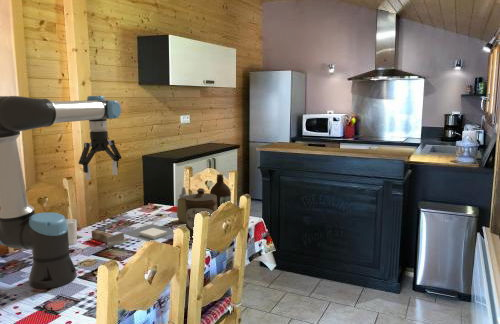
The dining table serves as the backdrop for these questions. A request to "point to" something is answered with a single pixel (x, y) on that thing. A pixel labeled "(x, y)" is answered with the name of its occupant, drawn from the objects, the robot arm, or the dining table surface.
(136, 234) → the slate mat
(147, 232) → the tile
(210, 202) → the wooden container
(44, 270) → the robot arm
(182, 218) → the squeeze bottle
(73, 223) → the white cup
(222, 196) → the olive oil
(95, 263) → the dining table surface
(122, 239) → the brown rectangular box
